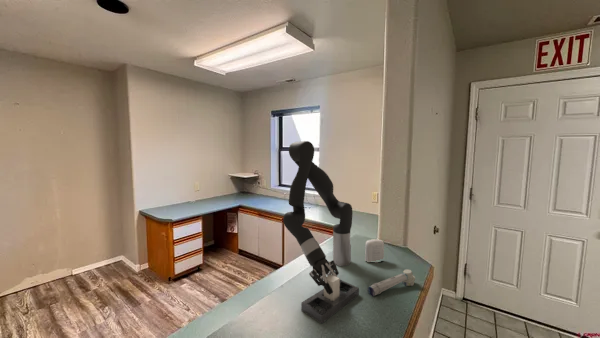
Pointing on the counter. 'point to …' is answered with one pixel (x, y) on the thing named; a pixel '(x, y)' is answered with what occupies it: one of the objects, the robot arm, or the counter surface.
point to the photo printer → (374, 250)
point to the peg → (333, 287)
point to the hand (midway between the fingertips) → (335, 290)
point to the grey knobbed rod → (392, 282)
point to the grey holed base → (329, 302)
